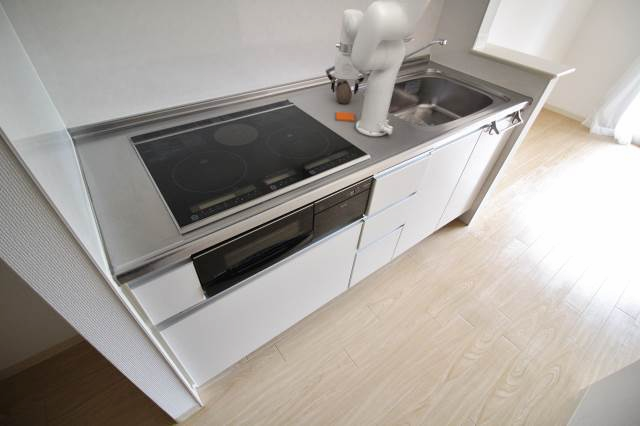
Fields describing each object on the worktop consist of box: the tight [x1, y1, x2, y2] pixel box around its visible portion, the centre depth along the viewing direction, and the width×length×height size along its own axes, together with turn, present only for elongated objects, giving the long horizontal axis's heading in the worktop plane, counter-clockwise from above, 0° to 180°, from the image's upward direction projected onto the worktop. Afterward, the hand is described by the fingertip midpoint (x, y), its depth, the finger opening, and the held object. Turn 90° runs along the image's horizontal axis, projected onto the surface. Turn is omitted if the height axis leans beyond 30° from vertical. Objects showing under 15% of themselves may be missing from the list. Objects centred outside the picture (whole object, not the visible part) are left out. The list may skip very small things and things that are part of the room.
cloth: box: [335, 111, 355, 122], centre depth 117 cm, size 7×6×1 cm
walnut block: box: [336, 79, 348, 90], centre depth 137 cm, size 4×4×4 cm
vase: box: [335, 80, 353, 105], centre depth 125 cm, size 7×7×9 cm
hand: (344, 91), depth 125 cm, fingers open, 9 cm apart
